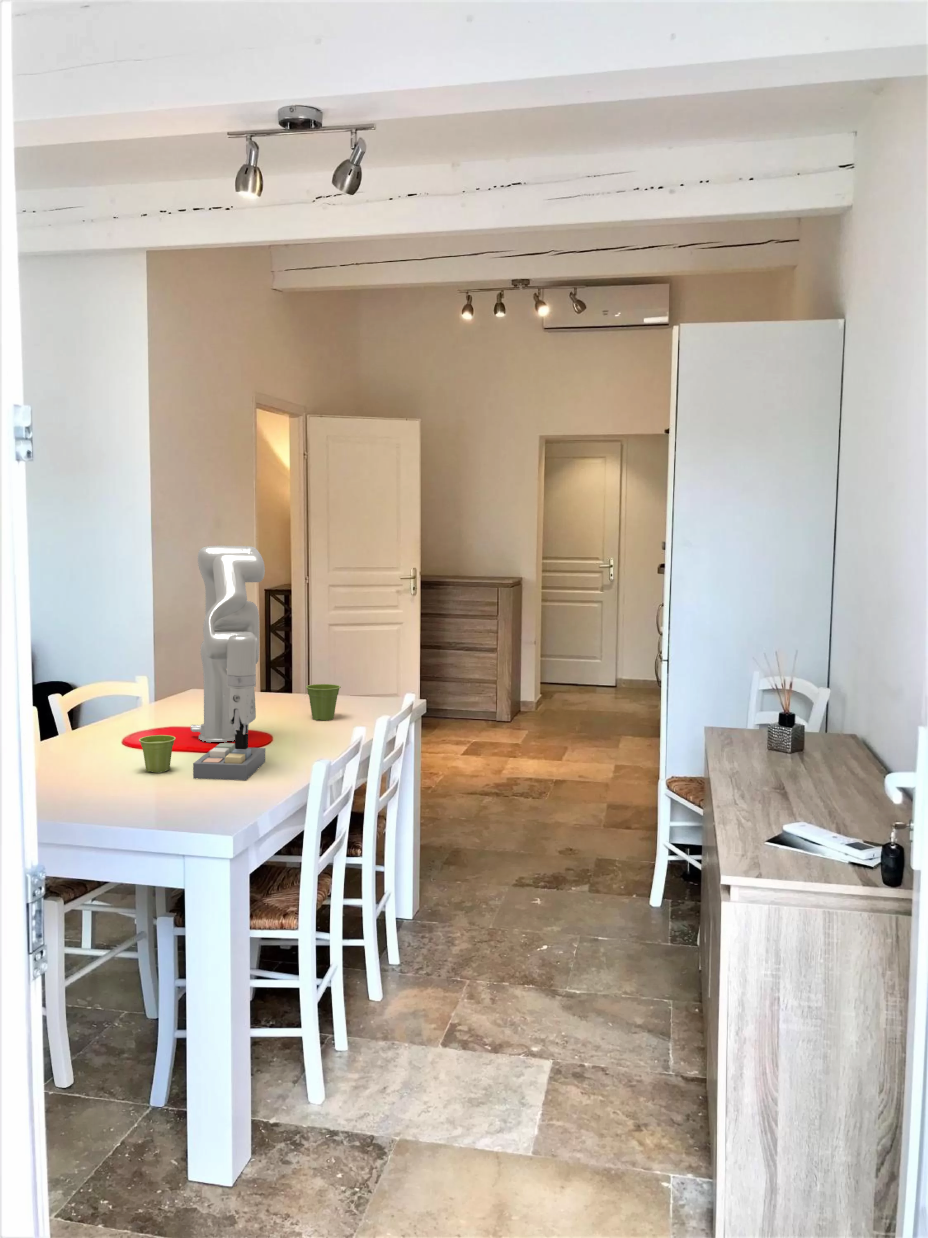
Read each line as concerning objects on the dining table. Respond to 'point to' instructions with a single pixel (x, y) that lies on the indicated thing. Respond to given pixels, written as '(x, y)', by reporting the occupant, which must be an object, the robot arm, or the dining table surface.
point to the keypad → (229, 767)
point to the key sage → (227, 746)
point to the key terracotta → (213, 760)
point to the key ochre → (235, 758)
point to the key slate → (242, 752)
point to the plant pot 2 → (323, 700)
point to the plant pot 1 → (157, 752)
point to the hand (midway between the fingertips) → (241, 748)
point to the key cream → (219, 752)
